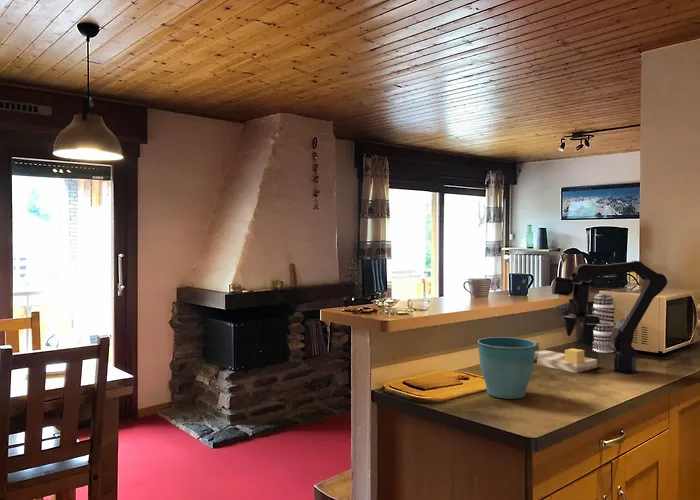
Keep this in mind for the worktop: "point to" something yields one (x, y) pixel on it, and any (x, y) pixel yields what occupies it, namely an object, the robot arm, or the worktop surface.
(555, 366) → the board
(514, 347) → the flower pot
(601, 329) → the decorative candle
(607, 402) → the worktop surface
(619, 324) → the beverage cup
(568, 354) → the ochre block
